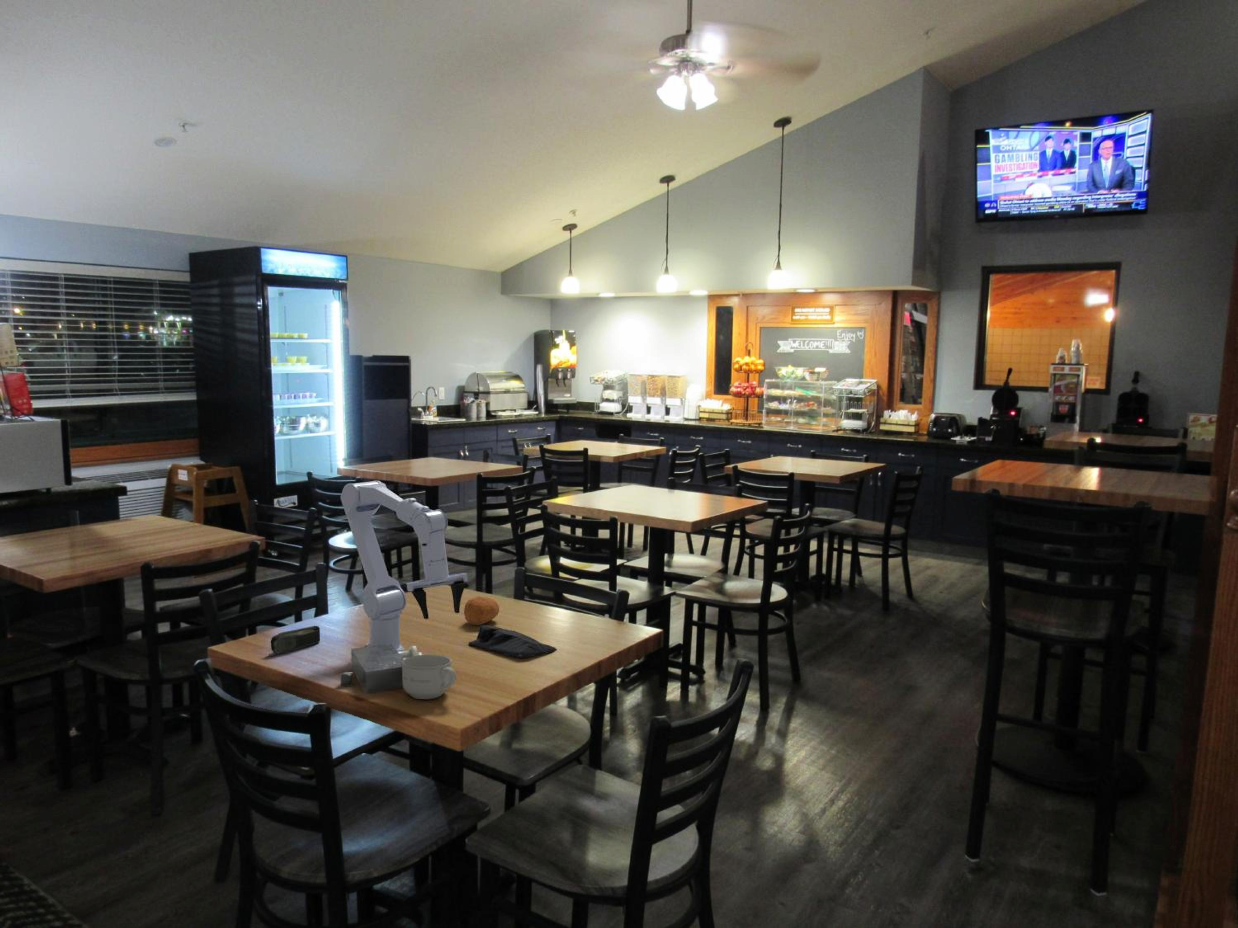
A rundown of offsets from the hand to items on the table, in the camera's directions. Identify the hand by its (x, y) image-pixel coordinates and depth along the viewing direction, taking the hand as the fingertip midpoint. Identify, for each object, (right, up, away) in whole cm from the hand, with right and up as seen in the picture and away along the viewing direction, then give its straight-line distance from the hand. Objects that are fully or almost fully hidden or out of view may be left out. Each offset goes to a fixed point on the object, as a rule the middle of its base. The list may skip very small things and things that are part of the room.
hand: (441, 615), depth 206 cm
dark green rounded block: (-41, -11, +13) cm, 44 cm away
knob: (-10, -12, 0) cm, 16 cm away
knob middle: (-8, -12, -5) cm, 15 cm away
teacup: (+2, -15, -19) cm, 24 cm away
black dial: (-19, -14, -12) cm, 26 cm away
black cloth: (+15, -12, +16) cm, 25 cm away
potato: (+3, -9, +38) cm, 39 cm away
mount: (-13, -13, -7) cm, 20 cm away
